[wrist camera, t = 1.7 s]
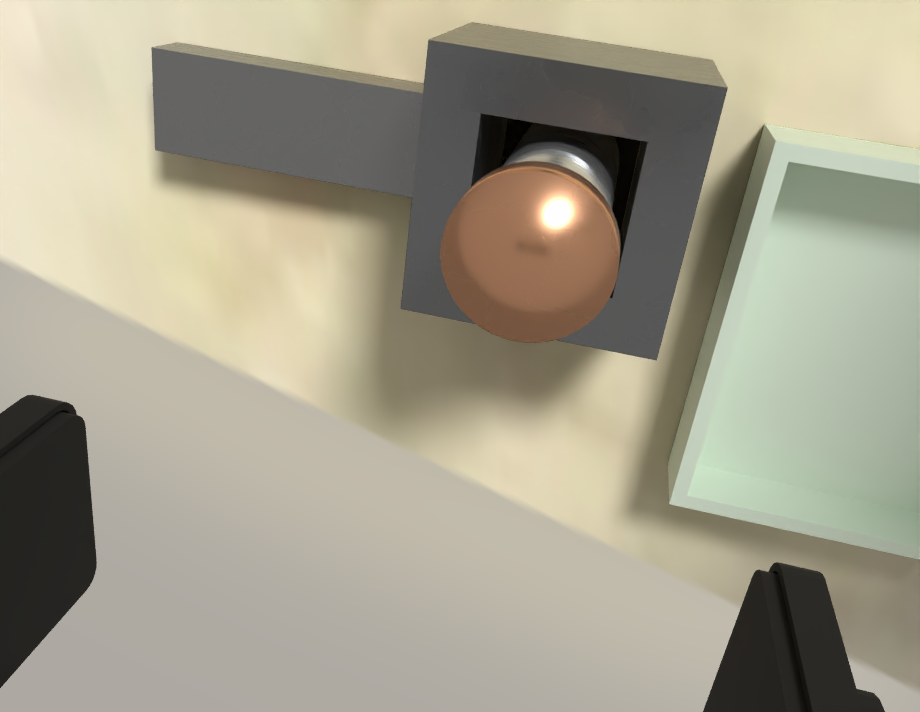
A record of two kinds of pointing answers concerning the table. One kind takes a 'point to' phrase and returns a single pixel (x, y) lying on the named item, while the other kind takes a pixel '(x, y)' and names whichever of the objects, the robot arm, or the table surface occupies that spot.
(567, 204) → the pin
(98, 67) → the table surface
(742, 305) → the tray
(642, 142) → the hitch block
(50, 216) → the table surface
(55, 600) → the robot arm
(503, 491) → the table surface
